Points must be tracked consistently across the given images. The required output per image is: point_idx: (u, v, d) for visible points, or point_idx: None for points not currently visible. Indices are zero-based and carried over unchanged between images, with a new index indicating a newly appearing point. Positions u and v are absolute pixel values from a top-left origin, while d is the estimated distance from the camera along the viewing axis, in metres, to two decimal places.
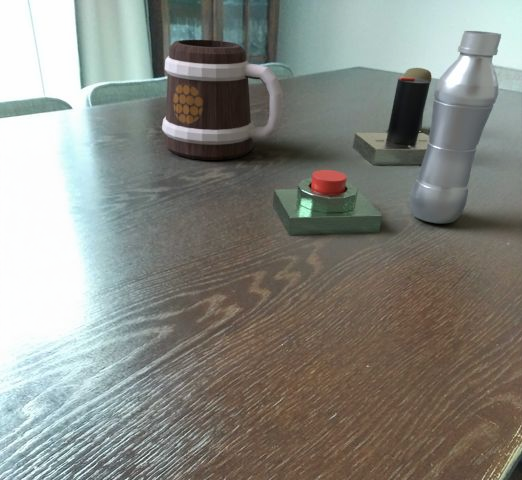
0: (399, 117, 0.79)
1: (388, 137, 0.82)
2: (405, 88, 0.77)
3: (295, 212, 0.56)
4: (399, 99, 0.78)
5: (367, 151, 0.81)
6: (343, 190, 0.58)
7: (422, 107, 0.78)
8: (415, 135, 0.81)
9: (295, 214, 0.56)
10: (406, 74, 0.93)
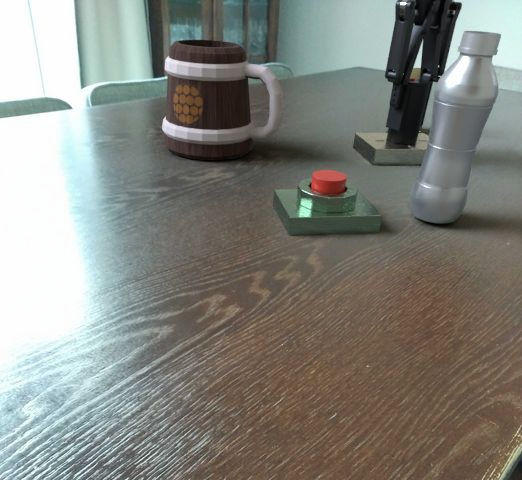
0: None
1: (388, 137, 0.82)
2: None
3: (295, 212, 0.56)
4: None
5: (367, 151, 0.81)
6: (343, 190, 0.58)
7: (422, 107, 0.78)
8: (415, 135, 0.81)
9: (295, 214, 0.56)
10: None
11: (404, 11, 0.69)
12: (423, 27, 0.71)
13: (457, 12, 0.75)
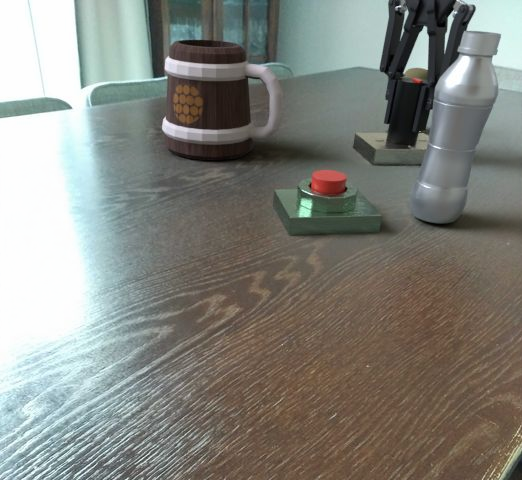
0: None
1: (408, 141, 0.81)
2: None
3: (295, 212, 0.56)
4: None
5: (367, 151, 0.81)
6: (343, 190, 0.58)
7: None
8: None
9: (295, 214, 0.56)
10: (406, 74, 0.93)
11: (469, 15, 0.69)
12: (446, 28, 0.73)
13: None
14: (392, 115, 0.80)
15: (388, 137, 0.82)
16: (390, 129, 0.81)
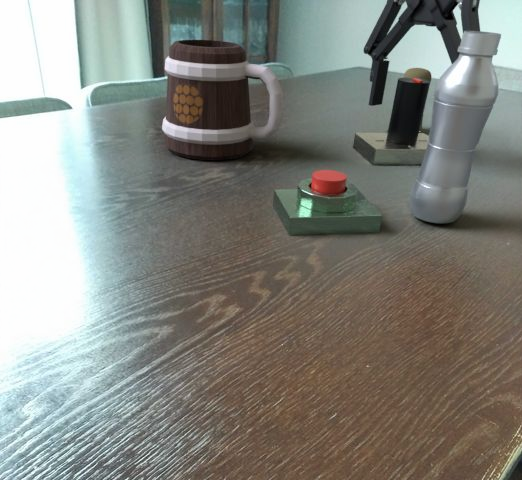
0: (420, 118, 0.80)
1: (408, 141, 0.81)
2: (427, 89, 0.77)
3: (295, 212, 0.56)
4: (422, 101, 0.78)
5: (367, 151, 0.81)
6: (343, 190, 0.58)
7: None
8: None
9: (295, 214, 0.56)
10: (406, 74, 0.93)
11: (476, 0, 0.67)
12: (455, 20, 0.71)
13: None
14: (392, 115, 0.80)
15: (388, 137, 0.82)
16: (390, 129, 0.81)
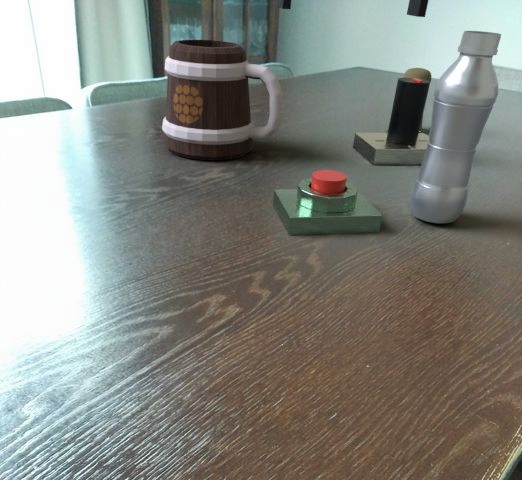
0: (420, 118, 0.80)
1: (408, 141, 0.81)
2: (427, 89, 0.77)
3: (295, 212, 0.56)
4: (422, 101, 0.78)
5: (367, 151, 0.81)
6: (343, 190, 0.58)
7: None
8: None
9: (295, 214, 0.56)
10: (406, 74, 0.93)
11: None
12: None
13: None
14: (392, 115, 0.80)
15: (388, 137, 0.82)
16: (390, 129, 0.81)
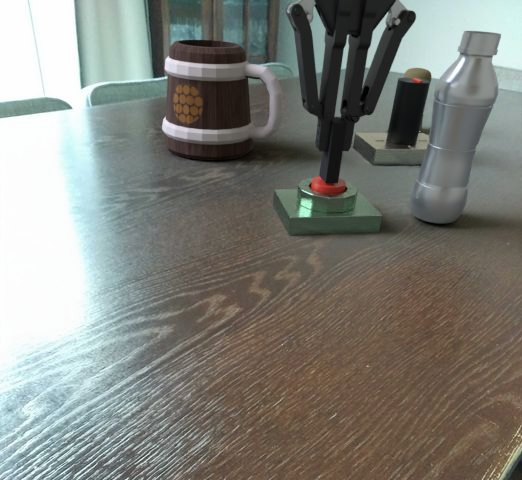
0: (420, 118, 0.80)
1: (408, 141, 0.81)
2: (427, 89, 0.77)
3: (295, 212, 0.56)
4: (422, 101, 0.78)
5: (367, 151, 0.81)
6: None
7: None
8: None
9: (295, 214, 0.56)
10: (406, 74, 0.93)
11: None
12: None
13: None
14: (392, 115, 0.80)
15: (388, 137, 0.82)
16: (390, 129, 0.81)
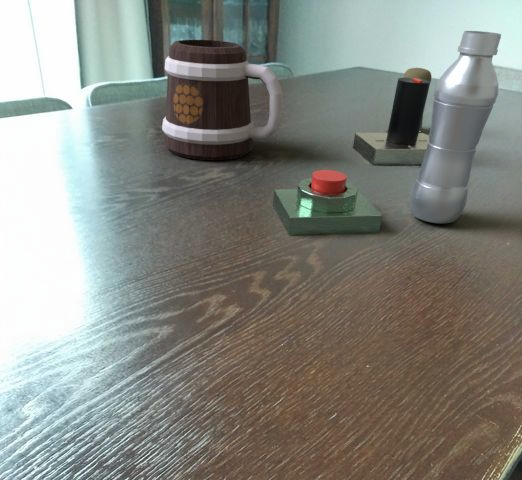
0: (420, 118, 0.80)
1: (408, 141, 0.81)
2: (427, 89, 0.77)
3: (295, 212, 0.56)
4: (422, 101, 0.78)
5: (367, 151, 0.81)
6: (343, 190, 0.58)
7: None
8: None
9: (295, 214, 0.56)
10: (406, 74, 0.93)
11: None
12: None
13: None
14: (392, 115, 0.80)
15: (388, 137, 0.82)
16: (390, 129, 0.81)
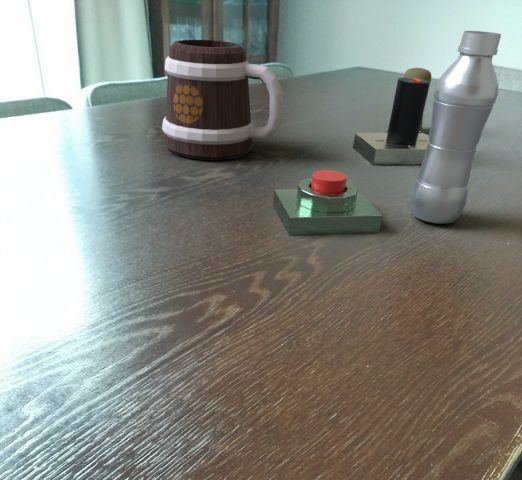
0: (420, 118, 0.80)
1: (408, 141, 0.81)
2: (427, 89, 0.77)
3: (295, 212, 0.56)
4: (422, 101, 0.78)
5: (367, 151, 0.81)
6: (343, 190, 0.58)
7: None
8: None
9: (295, 214, 0.56)
10: (406, 74, 0.93)
11: None
12: None
13: None
14: (392, 115, 0.80)
15: (388, 137, 0.82)
16: (390, 129, 0.81)
